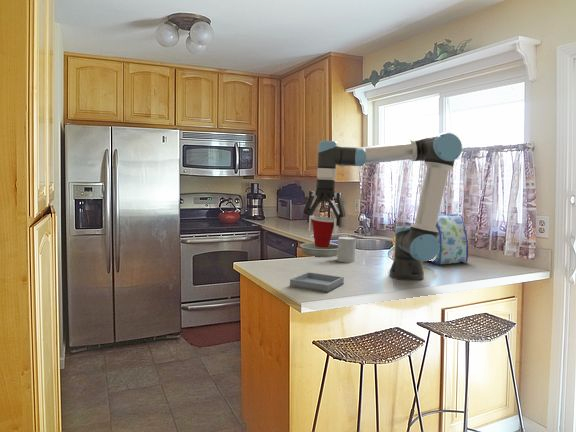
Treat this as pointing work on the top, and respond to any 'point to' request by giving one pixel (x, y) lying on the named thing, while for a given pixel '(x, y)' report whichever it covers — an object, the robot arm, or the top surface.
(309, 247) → the cake pan
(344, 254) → the white cylinder
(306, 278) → the tray
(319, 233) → the plastic cup
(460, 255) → the lunch bag
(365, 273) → the top surface
